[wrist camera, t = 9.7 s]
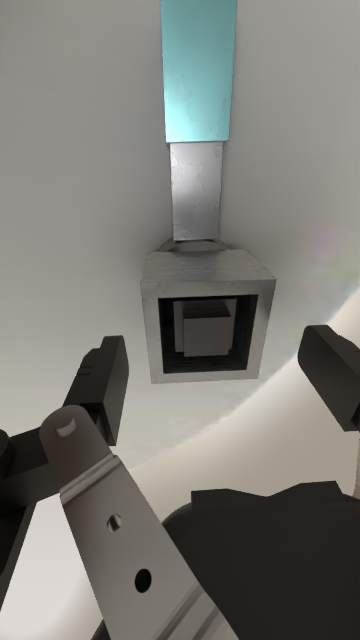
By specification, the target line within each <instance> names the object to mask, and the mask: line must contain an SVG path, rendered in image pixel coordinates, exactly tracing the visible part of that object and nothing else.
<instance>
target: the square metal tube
mask: <svg viewBox="0 0 360 640" xmlns="http://www.w3.org/2000/svg"><path fill="white" fill-rule="evenodd" d="M275 285H276V278H275V277H274V276H273V275H272V274H271V273H270V272H269V271H268V270H267V269H266V268H265V267H264V266H263V265H262V264H261V263H259V262H258V261H257V260H256V259H255V258H254V257H253V256H252V255H251V254H250V253H249V252H248V251H247V250H246V249H235V250H206V251H176V252H148V255H147V259H146V263H145V267H144V271H143V275H142V279H141V283H140V286H141V295H142V303H143V312H144V321H145V330H146V339H147V348H148V356H149V365H150V374H151V383H152V384H158V383H178V382H199V381H220V380H241V379H258V373H259V368H260V363H261V358H262V352H263V347H264V342H265V337H266V332H267V326H268V321H269V316H270V311H271V305H272V300H273V295H274V290H275ZM221 295H235V297H236V298H237V301H236V311H235V320H234V330H233V340H232V349H229V350H228V355H210V356H189V357H184V352H176V350H175V327H174V325H164V311H163V298H169V297H195V296H221Z"/></svg>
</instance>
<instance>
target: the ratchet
mask: <svg viewBox="0 0 360 640" xmlns="http://www.w3.org/2000/svg"><path fill="white" fill-rule="evenodd" d="M160 8H161V30H162V53H163V76H164V99H165V122H166V144H167V147H170V162H171V188H172V214H173V236H174V237H173V238H172V239H170V240H168V241H167V242H165V243H164V244H163V245H162V246H161V247H160V248H159V249H158V250H157V252H176V251H206V250H230V249H229V248H228V247H227V246H226V245H225V244H224V243H223V242H222V241H220V240H219V239H218V231H219V212H220V193H221V174H222V155H223V143H225V142H227V141H228V140H229V126H230V110H231V94H232V78H233V62H234V46H235V30H236V13H237V0H160ZM236 301H237V298H236V297H235V295H221V296H195V297H169V298H163V311H164V325H174V327H175V350H176V352H184V357H189V356H210V355H228V350H229V349H232V340H233V330H234V320H235V311H236Z"/></svg>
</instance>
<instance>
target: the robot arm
mask: <svg viewBox="0 0 360 640" xmlns="http://www.w3.org/2000/svg"><path fill="white" fill-rule="evenodd" d="M298 363H299V365H300V367H301V369H302V370H303V372H304V373H305V375H306V376H307V377H308V379H309V381H310V382H311V383H312V385H313V386H314V387H315V389H316V391H317V392H318V394H319V395H320V396H321V398H322V399H323V401H324V402H325V404H326V405H327V407H328V408H329V410H330V411H331V413H332V414H333V416H334V417H335V419H336V420H337V421H338V423H339V424H340V426H341V427H342V429H343V430H344V431H345V432H346V431H359V432H360V349H359V348H358V347H357V346H356V345H355V344H354V343H352V342H351V341H349V340H347V339H345V338H344V337H342V336H340V335H338V334H336V333H335V332H334V331H333V330H332V329H331V328H330V327H329V326H328V325H310V326H307V327H306V328H305V330H304V333H303V337H302V340H301V344H300V347H299V351H298ZM128 376H129V364H128V358H127V353H126V348H125V342H124V338H123V336H122V335H120V336H105V337H104V338H103V341H102V344H101V346H100V348H95V349H92V350H91V351H90V352H88V353H87V354H86V355H85V356H84V358H83V360H82V363H81V365H80V368H79V369H78V372H77V376H75V379H74V381H73V383H72V385H71V388H70V390H69V392H68V394H67V397H66V399H65V401H64V404H63V406H62V408H59V409H57V410H56V411H54V412H53V413H51V414H50V415H49V416H48V417H47V418H46V419H45V420H44V421H43V423H42V425H41V426H40V427H38V428H36V429H33V430H30V431H27V432H24V433H21V434H18V435H15V436H12V437H9V436H8V435H7V433H6V432H5V431H3V430H1V429H0V611H1V607H2V604H3V601H4V599H5V596H6V593H7V590H8V587H9V584H10V580H11V578H12V575H13V572H14V569H15V566H16V563H17V560H18V557H19V554H20V551H21V548H22V545H23V542H24V539H25V536H26V533H27V530H28V527H29V524H30V521H31V518H32V515H33V512H34V509H35V506H36V503H37V502H38V501H40V500H43V499H45V498H48V497H50V496H52V495H55V494H57V493H60V494H61V495H60V500H61V504H62V507H63V509H64V512H65V515H66V518H67V520H68V523H69V526H70V529H71V531H72V534H73V537H74V539H75V542H76V545H77V548H78V550H79V553H80V556H81V559H82V561H83V564H84V567H85V570H86V572H87V575H88V578H89V581H90V583H91V586H92V589H93V591H94V594H95V597H96V600H97V603H98V605H99V608H100V611H101V613H102V616H103V620H102V622H101V623H100V625H99V627H98V628H97V630H96V632H95V634H94V635H93V637H92V639H91V640H360V439H359V444H358V457H357V471H356V484H355V489H354V493H353V495H352V496H349V495H346V494H343V493H342V492H341V490H340V488H339V486H338V484H337V483H336V481H325V482H311V483H300V484H298V485H295V486H293V487H290V488H288V489H286V490H283V491H281V492H279V493H276V494H274V495H272V496H267V497H265V496H259V495H254V494H250V493H245V492H241V491H236V490H231V489H213V490H199V491H191V503H188V504H186V505H184V506H182V507H180V508H179V509H177V510H175V511H174V512H173V513H172V514H170V515H169V516H168V517H167V518H166V519H165V520H164V521H163V522H162V523H161V522H160V521H159V519H158V518H157V516H156V515H155V513H154V511H153V510H152V508H151V507H150V505H149V503H148V502H147V500H146V499H145V497H144V495H143V494H142V493H141V491H140V490H139V488H138V486H137V484H136V483H135V481H134V480H133V478H132V477H131V475H130V473H129V472H128V470H127V469H126V467H125V465H124V464H123V462H122V461H121V459H120V458H119V457H118V456H117V455H114V454H113V453H112V451H111V450H110V448H109V447H108V446H116V442H117V437H118V431H119V426H120V420H121V415H122V409H123V404H124V398H125V393H126V387H127V382H128Z"/></svg>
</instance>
